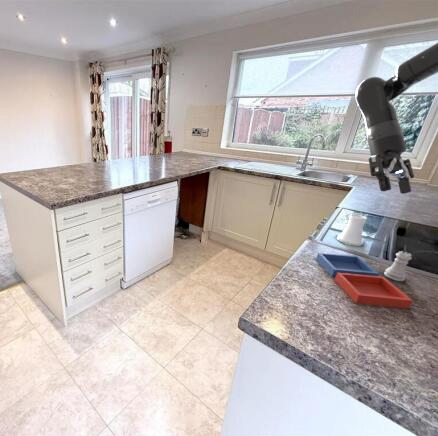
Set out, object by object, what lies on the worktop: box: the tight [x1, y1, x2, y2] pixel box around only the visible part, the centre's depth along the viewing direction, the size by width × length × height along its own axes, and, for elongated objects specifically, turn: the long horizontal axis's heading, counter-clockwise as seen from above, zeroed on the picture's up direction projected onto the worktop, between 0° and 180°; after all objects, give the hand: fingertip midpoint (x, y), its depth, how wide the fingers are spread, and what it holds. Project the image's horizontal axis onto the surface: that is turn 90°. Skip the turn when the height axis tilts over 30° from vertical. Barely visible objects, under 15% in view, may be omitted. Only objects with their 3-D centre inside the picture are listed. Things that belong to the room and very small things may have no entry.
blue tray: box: [315, 252, 380, 278], centre depth 74 cm, size 12×10×2 cm
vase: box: [336, 213, 368, 247], centre depth 90 cm, size 8×8×10 cm
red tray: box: [334, 273, 414, 309], centre depth 64 cm, size 12×10×2 cm
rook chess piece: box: [383, 250, 413, 282], centre depth 69 cm, size 4×4×8 cm
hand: (396, 191), depth 71 cm, fingers open, 8 cm apart
